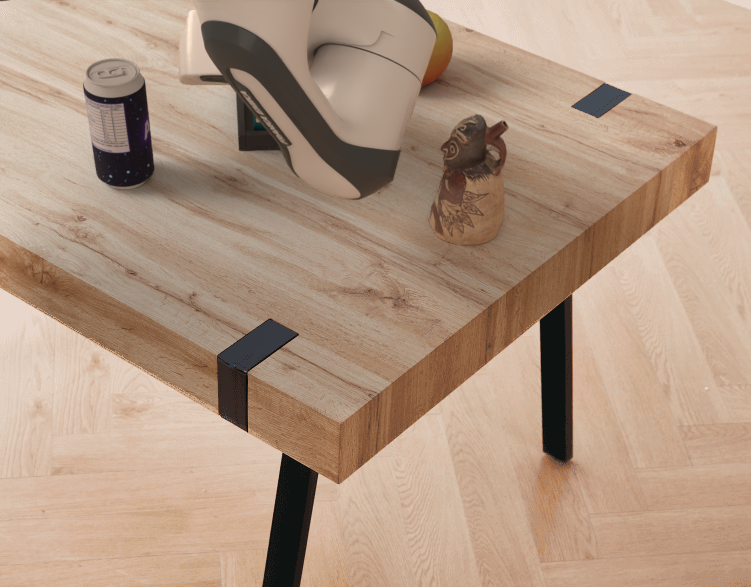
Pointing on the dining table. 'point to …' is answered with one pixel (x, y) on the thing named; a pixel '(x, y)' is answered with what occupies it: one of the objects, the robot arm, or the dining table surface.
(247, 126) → the tray
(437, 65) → the apple
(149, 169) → the beverage can
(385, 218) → the dining table surface
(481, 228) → the figurine
